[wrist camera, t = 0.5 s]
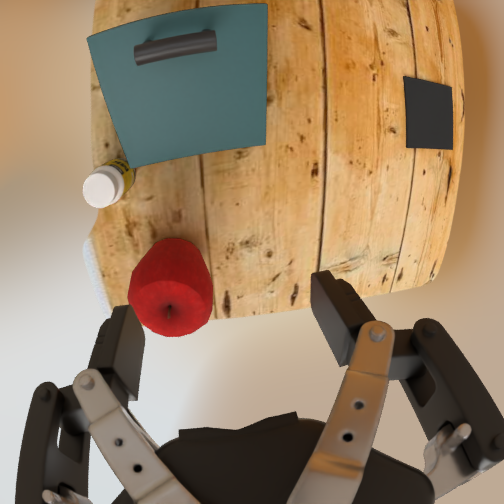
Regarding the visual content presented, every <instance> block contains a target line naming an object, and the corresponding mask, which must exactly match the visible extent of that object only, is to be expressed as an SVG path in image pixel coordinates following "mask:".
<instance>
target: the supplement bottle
mask: <svg viewBox="0 0 504 504" xmlns="http://www.w3.org/2000/svg"><path fill="white" fill-rule="evenodd" d="M135 176H136V174H135V169H134V168H132V169H130V166H129V164H128V161H127V160H126V159H123V158H117V159H113V160H111V161H109V162H107V163H105V164H103V165H101V166H99V167H97V168H96V169H95V170H94V171H93V172H92V173H91V174H90V176H89V177H88V178H87V179H86V180H85V182H84V185H83V195H84V198H85V200H86V201H87V202H88V204H90V205H91V206H93V207H95V208H104V207H106V206H108V205H110V204H113V203H115V202H116V201H118V200H119V199H120V198H121V197H122V196H123V195H124V194H125V193H126V192H127V191H128V190H129V189H130V188H131V187H132V185H133V183H134V181H135Z"/></svg>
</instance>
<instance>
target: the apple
mask: <svg viewBox="0 0 504 504" xmlns="http://www.w3.org/2000/svg"><path fill="white" fill-rule="evenodd" d="M127 297H128V301H129V304H130V305H132V307H133V308H134V311H135V313H136V315H137V317H138V319H139V320H140V321H141V323H142V324H143V325H145V326H146V327H147V328H149V329H150V330H152V331H153V332H155V333H157V334H160V335H163V336H166V337H180V336H184V335H187V334H191V333H193V332H195V331H196V330H197V329H199V328H200V327H202V326H203V325H205V324H206V323H207V322H208V320H209V317H210V315H211V312H212V306H213V285H212V281H211V277H210V274H209V271H208V269H207V267H206V264H205V262H204V260H203V257H202V255H201V253H200V250H199V249H197V248H196V247H195V246H194V245H193V244H192V243H191V242H188V241H185V240H182V239H179V238H166V239H164V240H161V241H159V242H157V243H155V244H154V245H153V247H152V248H151V249H150V250H149V251H148V252H147V254H146V255H145V256H144V257H143V258H142V259H141V261H140V262H139V263H138V265H137V266H136V267H135V269H134V270H133V272H132V276H131V281H130V286H129V291H128V296H127Z"/></svg>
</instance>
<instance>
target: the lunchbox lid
mask: <svg viewBox="0 0 504 504" xmlns="http://www.w3.org/2000/svg"><path fill="white" fill-rule="evenodd" d="M267 30H268V5H267V4H265V3H253V4H232V5H220V6H210V7H202V8H195V9H188V10H182V11H177V12H171V13H166V14H162V15H157V16H153V17H149V18H145V19H141V20H137V21H134V22H130V23H127V24H123V25H120V26H117V27H114V28H111V29H108V30H105V31H102V32H99V33H97V34H94V35H91V36H89V37H88V38H87V42H88V46H89V49H90V53H91V57H92V60H93V64H94V67H95V70H96V74H97V77H98V80H99V83H100V86H101V90H102V93H103V96H104V99H105V102H106V105H107V107H108V110H109V113H110V116H111V119H112V122H113V124H114V127H115V130H116V133H117V135H118V138H119V141H120V143H121V146H122V148H123V151H124V154H125V156H126V159H127V161H128V164H129V166H130V169H132V168H137V167H141V166H145V165H149V164H154V163H158V162H163V161H167V160H172V159H177V158H182V157H188V156H193V155H198V154H204V153H210V152H216V151H223V150H229V149H236V148H244V147H252V146H260V145H266V107H267Z"/></svg>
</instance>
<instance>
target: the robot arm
mask: <svg viewBox="0 0 504 504" xmlns="http://www.w3.org/2000/svg"><path fill="white" fill-rule="evenodd" d="M310 301H311V308H312V311H313V314H314V316H315V318H316V320H317V322H318V324H319V326H320V328H321V330H322V332H323V334H324V336H325V338H326V340H327V342H328V344H329V346H330V348H331V350H332V352H333V354H334V356H335V358H336V360H337V362H338V364H339V366H340V367H341V366H345V365H348V366H349V367H348V369H347V370H346V373H345V376H344V379H343V381H342V384H341V387H340V390H339V392H338V395H337V398H336V400H335V403H334V405H333V408H332V410H331V413H330V415H329V418H328V420H327V422H326V423H325V422H322V421H319V420H314V419H307V418H306V419H305V418H298V416H297V413H296V411H295V412H291V413H287V414H282V415H279V416H273V417H268V418H265V419H263V420H261V421H258V422H256V423H254V424H251V425H249V426H247V427H244V428H241V429H238V430H231V429H219V428H209V427H203V428H193V429H180V430H179V437H178V438H175V439H173V440H171V441H169V442H167V443H165V444H164V445H162V446H161V447H159V446H158V445H157V444H156V443H155V441H154V440H153V439H152V438H151V437H150V436H149V435H148V433H147V432H146V431H145V429H144V428H143V427H142V426H141V424H140V423H139V422H138V420H137V419H136V418H135V416H134V415H133V414H132V412H131V411H130V410H129V409H128V401H137V400H138V391H139V382H140V375H141V367H142V359H143V353H144V346H145V334H144V331H143V328H142V326H141V324H140V322H139V319H138V317H137V315H136V313H135V311H134V308H133V307H132V305H130V304H129V305H122V306H115V307H114V309H113V312H112V315H111V318H109V319H106V320H105V322H104V323H103V324H102V326H101V327H100V329H99V333H98V337H97V339H96V342H95V345H94V348H93V351H92V355H91V358H90V361H89V365H88V368H87V369H86V370H83V371H81V372H80V373H79V374H78V375H77V376H76V377H75V379H74V381H73V384H72V385H69V386H66V387H63V388H59V389H58V388H57V387H56V386H55V384H54V383H52V382H44V383H42V384H40V385H39V386H38V387H37V388H36V390H35V391H34V394H33V397H32V401H31V404H30V409H29V412H28V416H27V421H26V426H25V430H24V434H23V440H22V445H21V451H20V457H19V464H18V472H17V481H16V495H15V504H93V503H92V502H91V501H90V500H89V499H88V470H89V467H88V466H89V450H90V438H91V436H92V437H93V439H94V441H95V443H96V445H97V446H98V448H99V449H100V451H101V453H102V455H103V456H104V458H105V460H106V461H107V463H108V464H109V466H110V467H111V469H112V470H113V472H114V473H115V475H116V476H117V478H118V479H119V481H120V482H121V484H122V485H123V486H124V490H123V491H122V492H121V494H119V495H118V497H117V498H116V499H115V500H114V501H113V502H112V504H434V503H435V500H436V499H438V498H440V497H442V496H443V495H445V494H447V493H448V492H450V491H452V490H453V489H455V488H456V487H458V486H460V485H463V484H464V483H466V482H468V481H470V480H472V479H473V478H475V477H477V476H479V475H480V474H482V473H484V472H485V471H487V470H488V469H490V468H492V467H493V466H495V465H496V464H498V463H499V462H501V461H502V460H503V459H504V418H503V416H502V415H501V413H500V411H499V409H498V408H497V406H496V404H495V403H494V401H493V399H492V397H491V396H490V394H489V393H488V391H487V389H486V388H485V386H484V385H483V383H482V382H481V380H480V378H479V377H478V375H477V374H476V372H475V371H474V369H473V368H472V367H471V365H470V363H469V362H468V361H467V359H466V358H465V356H464V355H463V353H462V352H461V351H460V349H459V348H458V346H457V345H456V344H455V342H454V341H453V339H452V338H451V337H450V335H449V334H448V333H447V331H446V330H445V329H444V327H443V326H442V325H441V324H440V323H439V322H437V321H436V320H433V319H430V318H423V319H420V320H418V321H417V322H416V323H415V324H414V327H413V329H404V330H393V328H392V327H391V326H390V325H389V324H387V323H385V322H382V321H377V320H376V319H375V317H374V316H373V314H372V313H371V312H370V310H369V309H368V308H367V306H366V305H365V303H364V302H363V301H362V299H360V297H359V295H358V294H357V293H356V291H355V290H354V288H353V287H352V286H351V284H349V283H348V282H346V281H344V280H343V279H337V280H336V279H335V278H334V277H333V275H332V274H331V272H330V271H329V270H325V271H320V272H315V273H312V274H311V298H310ZM389 380H399V381H400V383H401V385H402V387H403V389H404V391H405V393H406V395H407V397H408V399H409V401H410V403H411V405H412V407H413V409H414V411H415V413H416V415H417V417H418V419H419V422H420V424H421V426H422V428H423V430H424V432H425V434H426V437H427V439H428V441H429V442H428V443H427V445H426V446H425V449H424V459H425V469H424V472H422V471H420V470H419V469H416V468H414V467H412V466H410V465H407V464H405V463H403V462H401V461H399V460H396V459H394V458H392V457H390V456H388V455H386V454H384V453H382V452H380V451H378V450H376V449H374V448H372V444H373V441H374V438H375V435H376V431H377V428H378V424H379V421H380V417H381V414H382V410H383V406H384V401H385V398H386V393H387V389H388V384H389ZM59 427H60V428H61V435H60V441H59V448H58V446H57V437H58V430H59Z"/></svg>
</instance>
